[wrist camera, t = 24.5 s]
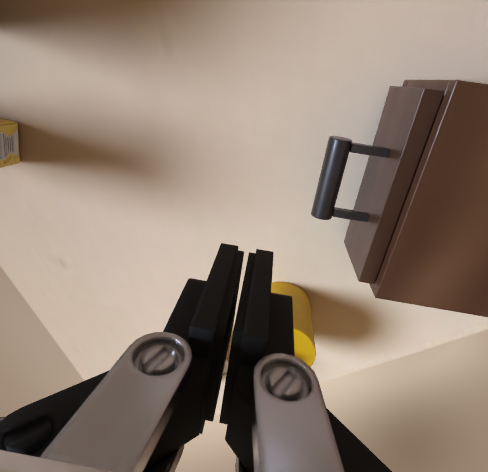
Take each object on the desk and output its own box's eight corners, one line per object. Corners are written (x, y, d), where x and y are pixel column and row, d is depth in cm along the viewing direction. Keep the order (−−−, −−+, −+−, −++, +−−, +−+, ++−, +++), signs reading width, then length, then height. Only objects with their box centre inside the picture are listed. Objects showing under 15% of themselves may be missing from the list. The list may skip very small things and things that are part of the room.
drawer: (298, 234, 32) (302, 272, 25) (334, 77, 26) (350, 77, 20) (511, 269, 31) (568, 317, 25) (598, 116, 25) (702, 128, 19)
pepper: (248, 323, 38) (238, 385, 30) (256, 276, 35) (248, 332, 28) (303, 333, 38) (308, 398, 30) (316, 287, 35) (325, 346, 27)
